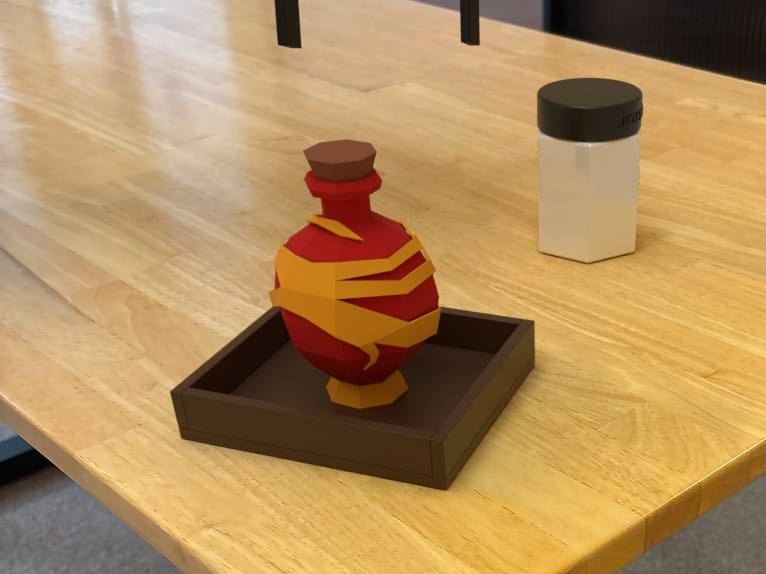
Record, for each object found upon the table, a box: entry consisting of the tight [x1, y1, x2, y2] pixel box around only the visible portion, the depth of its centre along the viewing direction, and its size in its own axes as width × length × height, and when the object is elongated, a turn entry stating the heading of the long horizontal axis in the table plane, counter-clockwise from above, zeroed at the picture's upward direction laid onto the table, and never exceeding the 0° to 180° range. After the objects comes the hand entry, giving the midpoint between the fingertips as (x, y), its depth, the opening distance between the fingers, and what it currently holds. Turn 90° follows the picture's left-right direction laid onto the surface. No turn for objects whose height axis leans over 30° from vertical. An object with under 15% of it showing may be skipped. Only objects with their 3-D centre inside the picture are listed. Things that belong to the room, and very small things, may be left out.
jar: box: [536, 77, 644, 264], centre depth 86 cm, size 9×8×12 cm
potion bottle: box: [268, 138, 441, 409], centre depth 65 cm, size 10×10×15 cm
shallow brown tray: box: [169, 306, 536, 491], centre depth 69 cm, size 18×16×3 cm
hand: (378, 46), depth 78 cm, fingers open, 13 cm apart
